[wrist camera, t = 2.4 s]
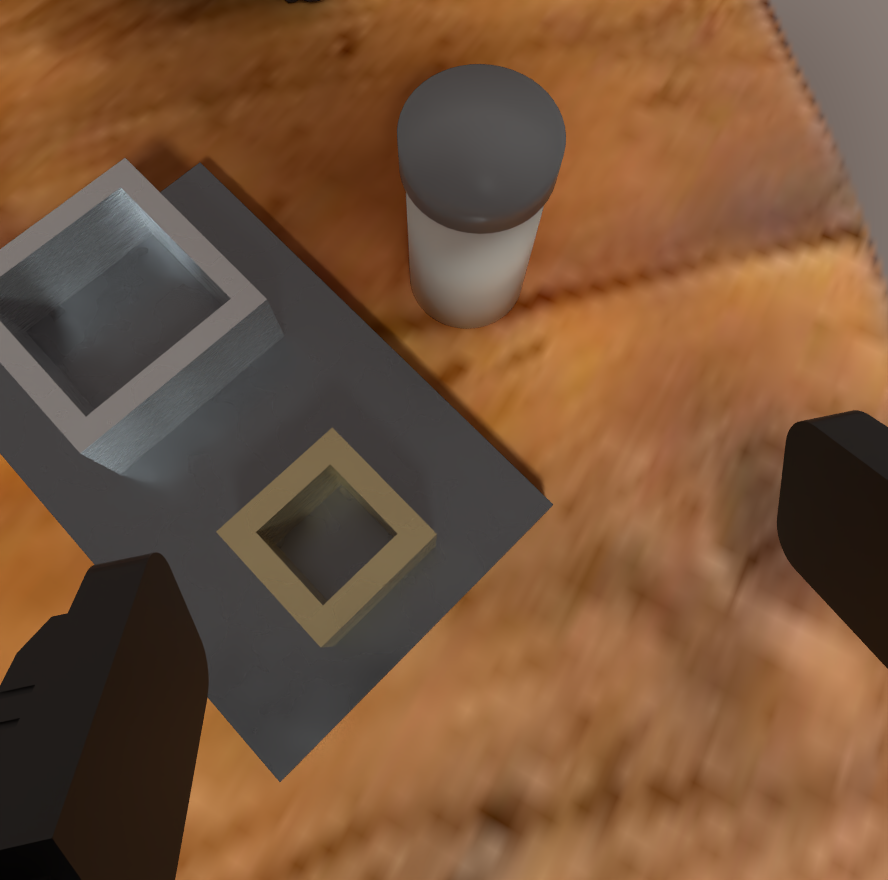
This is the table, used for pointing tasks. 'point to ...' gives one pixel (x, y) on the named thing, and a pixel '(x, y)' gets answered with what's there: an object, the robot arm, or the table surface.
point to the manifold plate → (243, 447)
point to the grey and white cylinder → (475, 187)
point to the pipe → (297, 0)
